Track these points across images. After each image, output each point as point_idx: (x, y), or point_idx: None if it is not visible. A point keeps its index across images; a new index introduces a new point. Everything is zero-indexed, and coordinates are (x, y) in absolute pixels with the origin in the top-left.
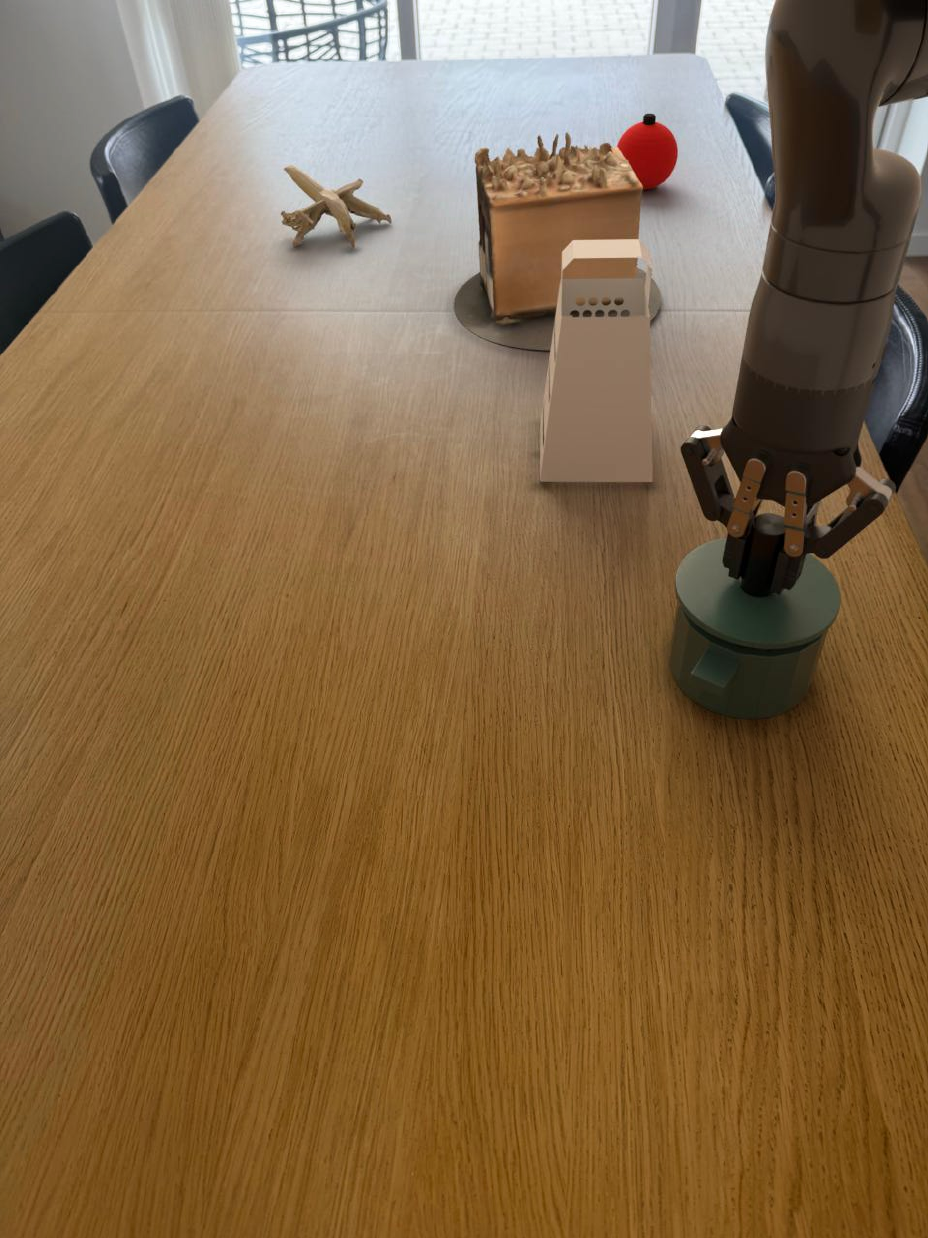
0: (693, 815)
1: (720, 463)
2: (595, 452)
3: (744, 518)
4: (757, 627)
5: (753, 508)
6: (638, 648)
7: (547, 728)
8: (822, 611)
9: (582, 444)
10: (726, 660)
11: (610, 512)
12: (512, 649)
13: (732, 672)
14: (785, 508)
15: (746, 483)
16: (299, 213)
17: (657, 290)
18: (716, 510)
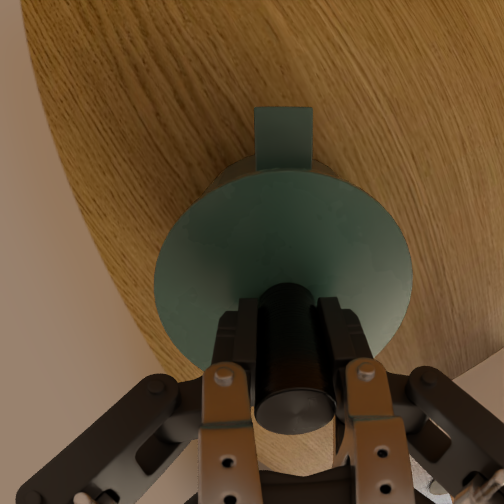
0: (229, 9)
1: (445, 481)
2: (479, 392)
3: (359, 403)
4: (245, 217)
5: (348, 435)
6: (389, 201)
7: (422, 45)
8: (175, 302)
9: (492, 392)
10: (275, 163)
11: (452, 351)
12: (492, 138)
13: (256, 143)
14: (257, 474)
15: (398, 498)
16: None
17: (431, 492)
18: (423, 391)
